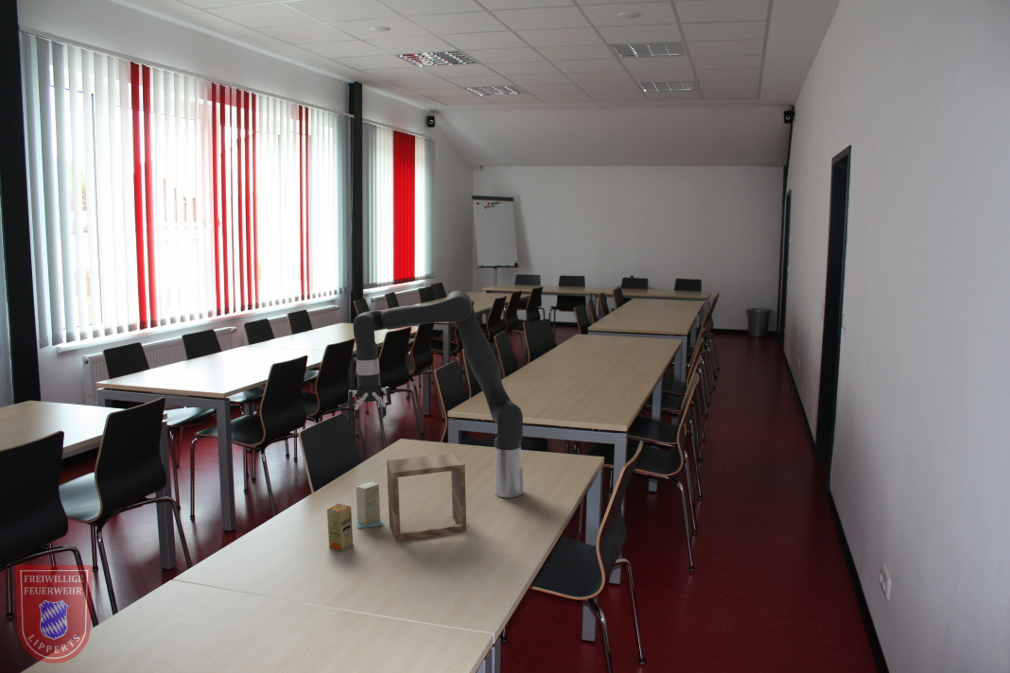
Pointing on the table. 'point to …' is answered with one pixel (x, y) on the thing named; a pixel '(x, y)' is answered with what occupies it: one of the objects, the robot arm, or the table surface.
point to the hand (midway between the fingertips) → (370, 418)
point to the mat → (374, 524)
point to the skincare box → (368, 503)
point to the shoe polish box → (340, 527)
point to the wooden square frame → (426, 467)
